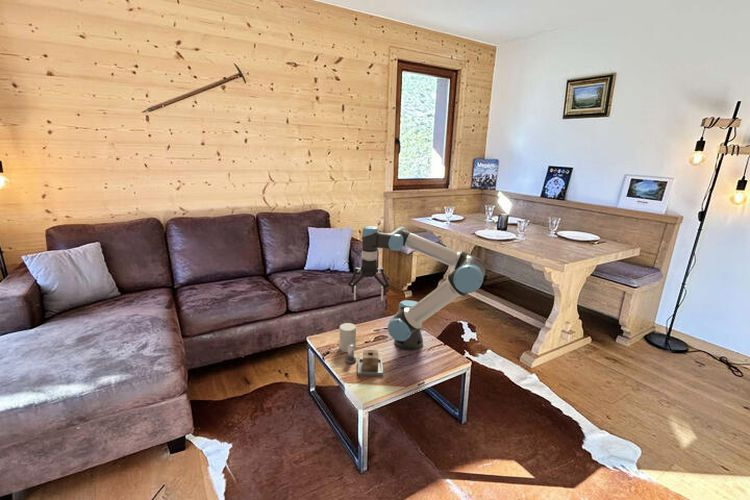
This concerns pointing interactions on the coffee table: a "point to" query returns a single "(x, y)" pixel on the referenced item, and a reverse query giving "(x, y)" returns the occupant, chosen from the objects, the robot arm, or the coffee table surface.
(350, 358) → the post
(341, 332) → the cup
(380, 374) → the tray
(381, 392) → the coffee table surface
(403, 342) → the robot arm
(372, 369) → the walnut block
